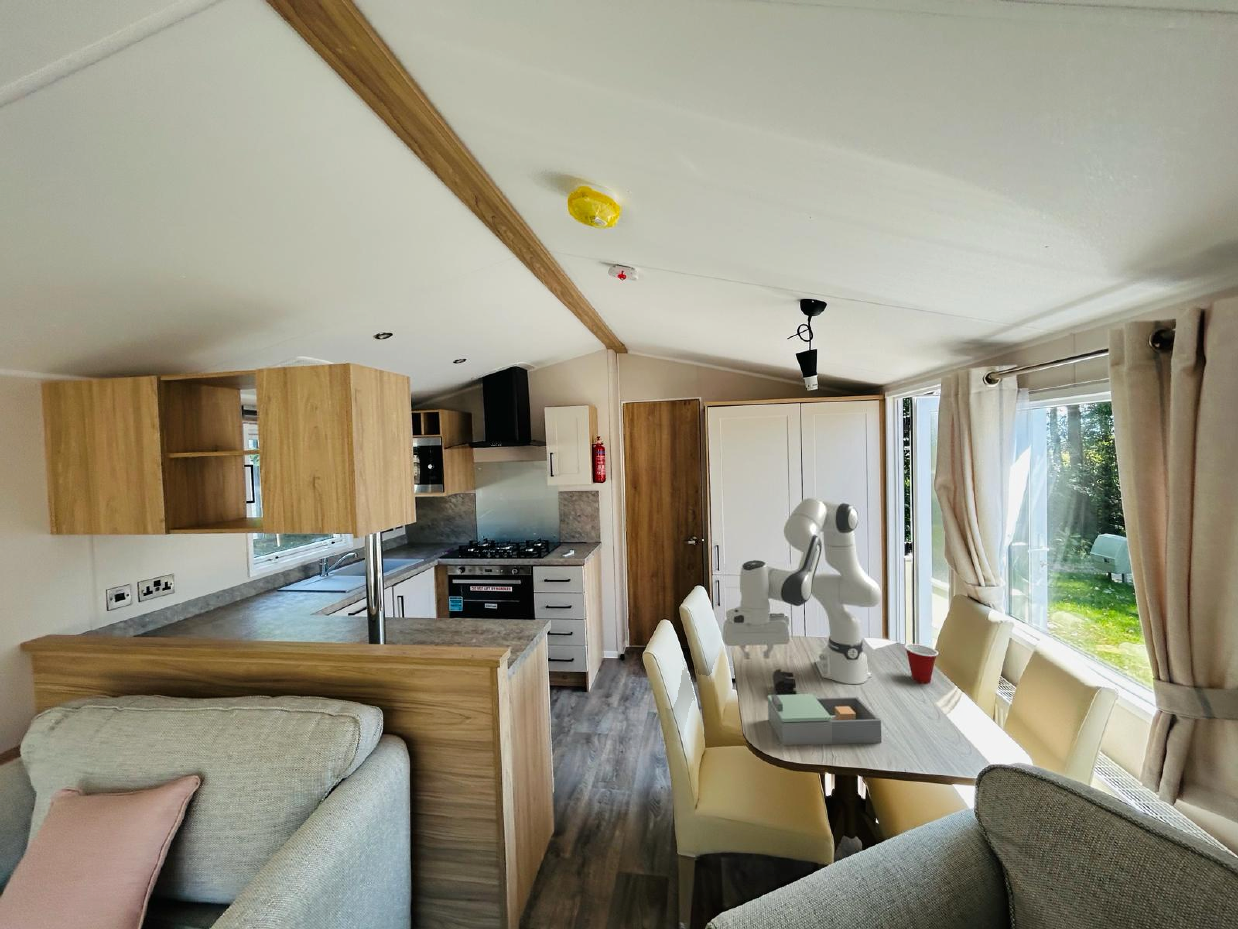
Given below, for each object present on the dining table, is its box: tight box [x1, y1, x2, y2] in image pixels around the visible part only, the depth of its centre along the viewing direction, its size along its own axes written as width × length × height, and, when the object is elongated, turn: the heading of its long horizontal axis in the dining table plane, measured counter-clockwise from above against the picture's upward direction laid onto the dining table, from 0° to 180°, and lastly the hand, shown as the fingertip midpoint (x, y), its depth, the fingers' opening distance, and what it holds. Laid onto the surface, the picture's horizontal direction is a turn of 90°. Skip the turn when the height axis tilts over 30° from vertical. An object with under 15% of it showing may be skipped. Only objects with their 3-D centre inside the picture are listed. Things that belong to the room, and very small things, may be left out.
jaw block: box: [835, 706, 856, 720], centre depth 154 cm, size 4×4×6 cm
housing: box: [767, 696, 882, 746], centre depth 154 cm, size 15×29×6 cm, turn 90°
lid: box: [767, 693, 831, 722], centre depth 154 cm, size 15×15×3 cm
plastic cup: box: [904, 643, 939, 684], centre depth 185 cm, size 11×11×12 cm
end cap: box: [772, 668, 797, 695], centre depth 179 cm, size 10×7×7 cm
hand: (756, 658), depth 154 cm, fingers open, 5 cm apart
